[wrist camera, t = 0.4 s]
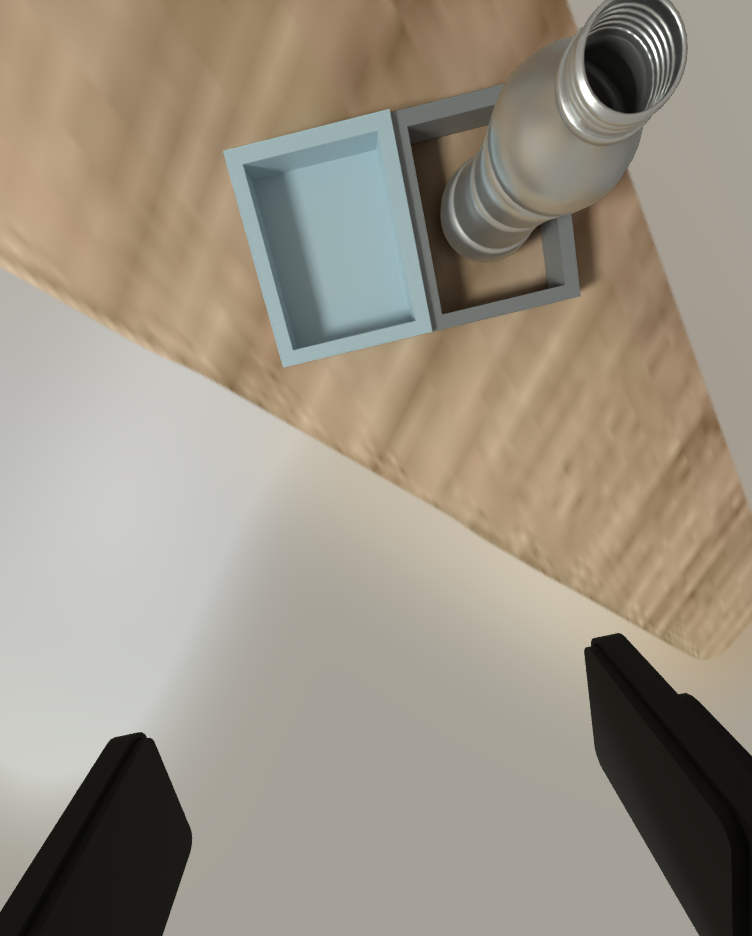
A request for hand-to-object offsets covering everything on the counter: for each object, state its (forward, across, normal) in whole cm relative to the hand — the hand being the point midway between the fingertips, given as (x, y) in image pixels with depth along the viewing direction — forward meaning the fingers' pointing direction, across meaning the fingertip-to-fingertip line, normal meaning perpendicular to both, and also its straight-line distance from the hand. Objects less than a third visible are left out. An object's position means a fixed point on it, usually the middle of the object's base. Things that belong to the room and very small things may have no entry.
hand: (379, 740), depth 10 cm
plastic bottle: (+30, -12, -15) cm, 35 cm away
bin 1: (+30, -1, -15) cm, 33 cm away
